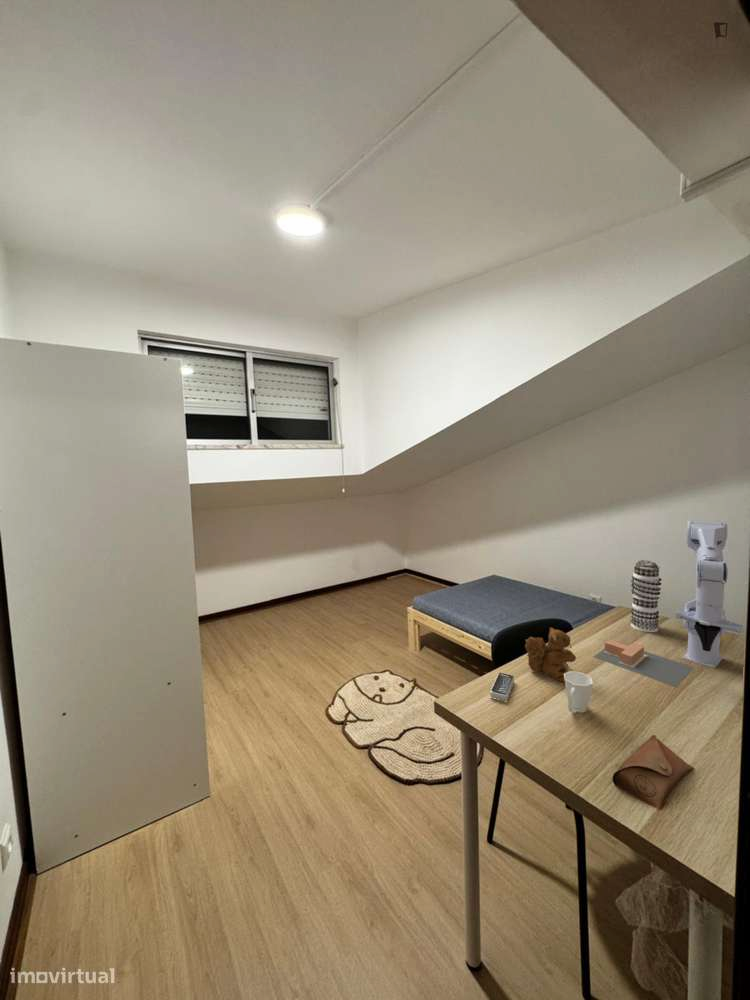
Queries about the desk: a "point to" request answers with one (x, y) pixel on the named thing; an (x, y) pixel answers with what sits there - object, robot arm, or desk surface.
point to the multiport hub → (502, 686)
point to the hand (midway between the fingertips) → (706, 649)
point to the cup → (578, 691)
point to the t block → (625, 651)
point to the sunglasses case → (651, 772)
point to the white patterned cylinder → (645, 596)
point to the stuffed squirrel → (550, 654)
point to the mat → (652, 667)
